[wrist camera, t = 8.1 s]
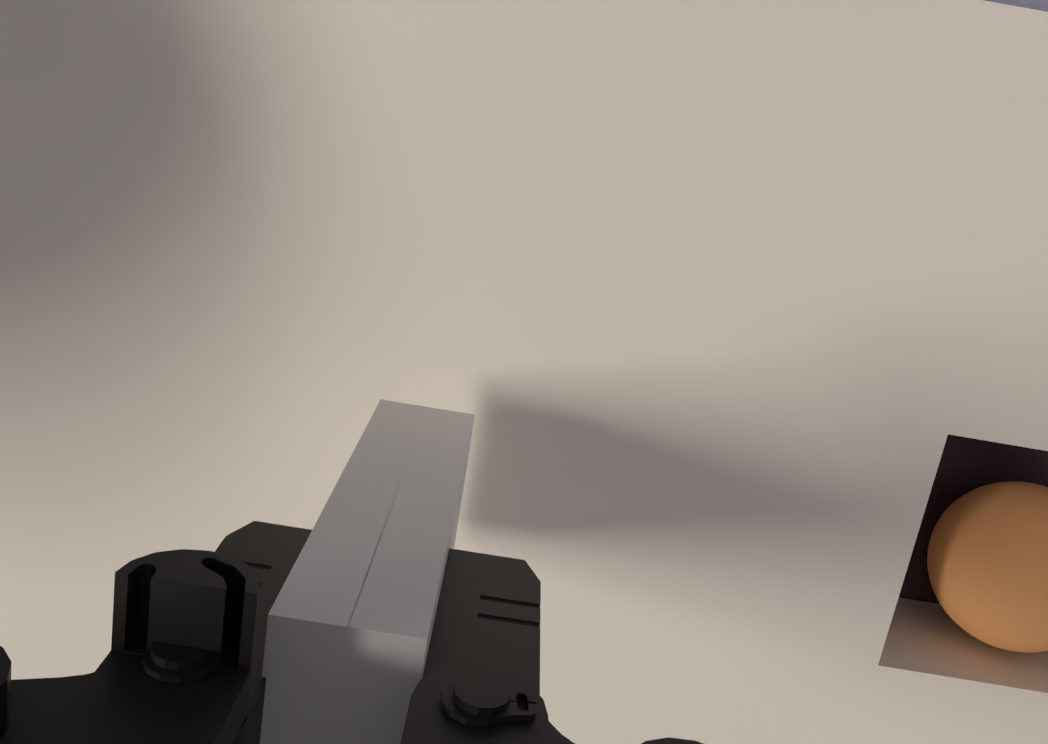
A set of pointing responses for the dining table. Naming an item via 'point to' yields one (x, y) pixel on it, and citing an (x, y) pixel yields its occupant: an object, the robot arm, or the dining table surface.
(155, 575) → the robot arm
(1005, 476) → the dining table surface
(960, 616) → the ball
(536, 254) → the hole board
